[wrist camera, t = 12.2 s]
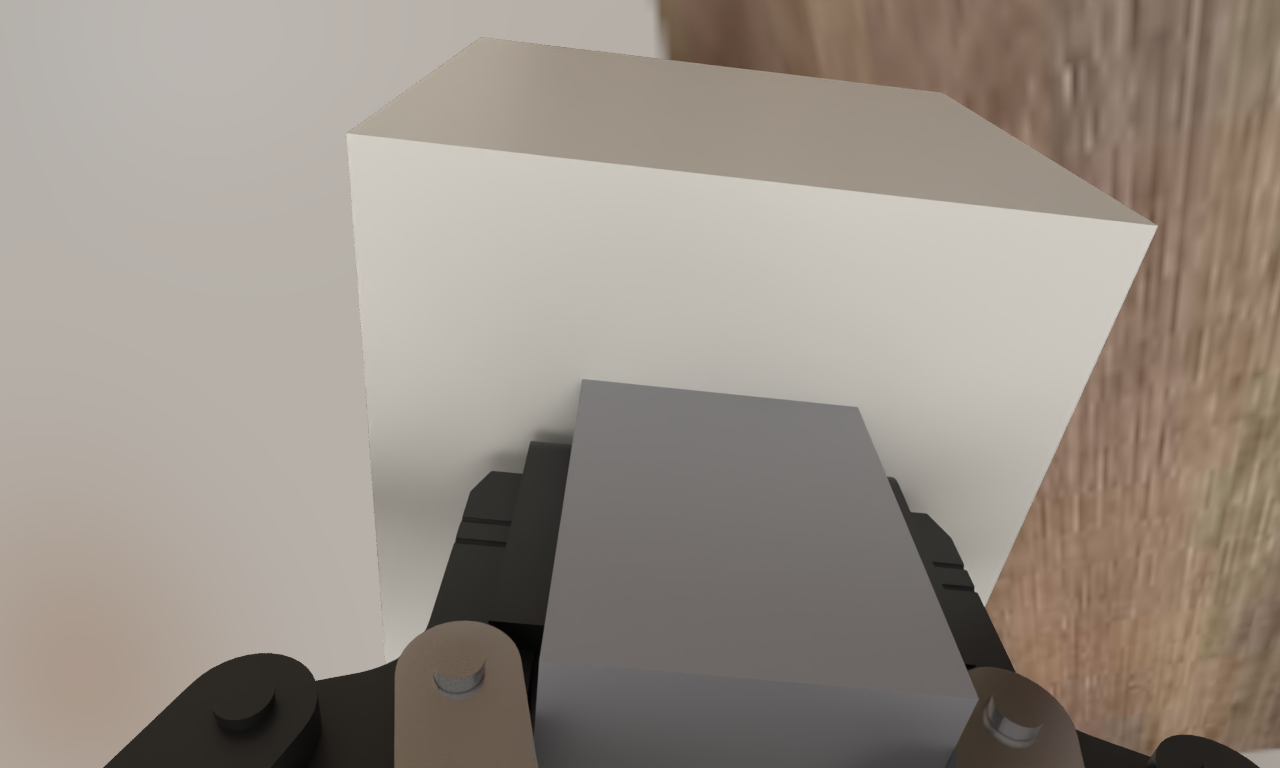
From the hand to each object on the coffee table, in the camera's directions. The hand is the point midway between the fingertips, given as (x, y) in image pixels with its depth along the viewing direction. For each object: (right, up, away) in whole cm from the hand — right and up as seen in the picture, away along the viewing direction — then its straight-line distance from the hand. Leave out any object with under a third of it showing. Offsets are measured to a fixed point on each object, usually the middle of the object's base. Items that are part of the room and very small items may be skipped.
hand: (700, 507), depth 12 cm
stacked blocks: (0, +5, +8) cm, 9 cm away
